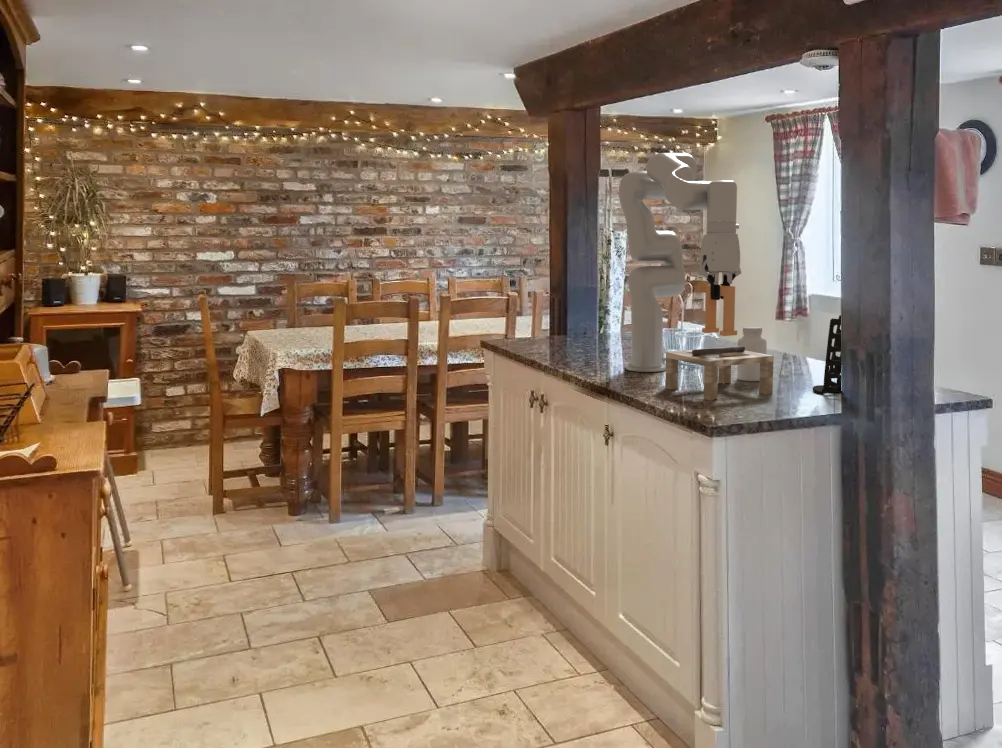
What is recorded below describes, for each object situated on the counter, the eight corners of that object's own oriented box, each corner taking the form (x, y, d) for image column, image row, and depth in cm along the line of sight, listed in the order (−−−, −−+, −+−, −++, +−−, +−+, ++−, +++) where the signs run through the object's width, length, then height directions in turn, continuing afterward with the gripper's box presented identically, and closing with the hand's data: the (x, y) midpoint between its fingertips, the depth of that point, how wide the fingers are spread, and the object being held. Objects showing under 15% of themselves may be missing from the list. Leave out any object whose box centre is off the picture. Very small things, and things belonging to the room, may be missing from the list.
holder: (811, 386, 253) (822, 313, 249) (841, 389, 251) (852, 316, 247) (812, 393, 242) (824, 317, 238) (843, 397, 240) (855, 321, 236)
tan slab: (724, 336, 242) (725, 287, 240) (702, 332, 251) (702, 285, 249) (737, 335, 243) (738, 286, 241) (714, 331, 252) (715, 284, 250)
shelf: (709, 400, 237) (710, 355, 235) (665, 388, 255) (665, 346, 253) (772, 393, 245) (773, 349, 243) (725, 382, 263) (726, 341, 261)
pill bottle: (744, 376, 272) (745, 325, 269) (770, 378, 267) (772, 326, 264) (732, 380, 266) (733, 327, 263) (758, 382, 261) (760, 329, 258)
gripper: (737, 228, 249) (735, 297, 252) (687, 229, 243) (686, 300, 246) (755, 228, 243) (753, 298, 245) (704, 229, 236) (703, 301, 239)
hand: (719, 298), depth 246 cm, fingers closed on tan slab, 2 cm apart
